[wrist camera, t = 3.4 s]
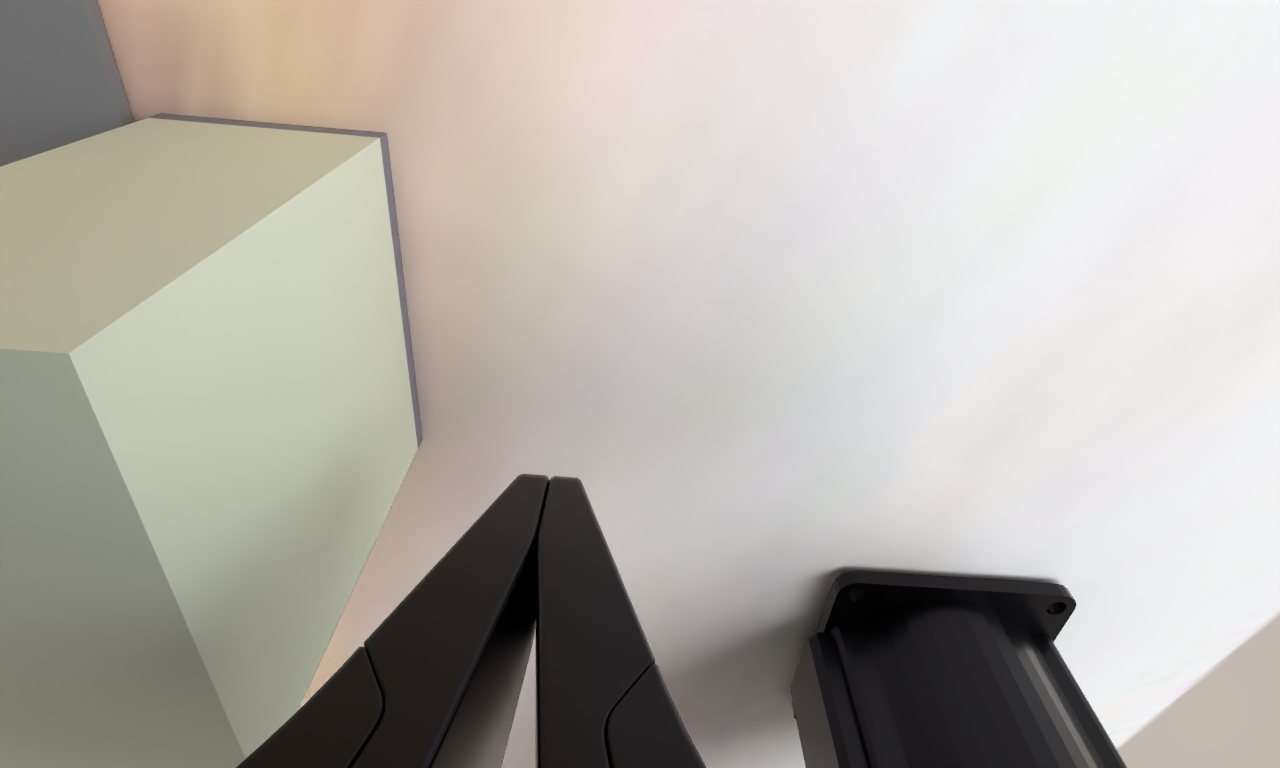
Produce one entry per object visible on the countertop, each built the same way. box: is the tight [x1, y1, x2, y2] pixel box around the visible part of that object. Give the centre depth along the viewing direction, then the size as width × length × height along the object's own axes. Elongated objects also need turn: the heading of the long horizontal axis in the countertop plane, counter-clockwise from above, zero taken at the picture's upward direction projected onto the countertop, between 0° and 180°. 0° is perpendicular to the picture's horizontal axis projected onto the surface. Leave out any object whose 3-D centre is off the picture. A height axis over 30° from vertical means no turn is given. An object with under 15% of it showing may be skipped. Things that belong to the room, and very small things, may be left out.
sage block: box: [0, 114, 422, 768], centre depth 11 cm, size 4×7×8 cm, turn 175°
